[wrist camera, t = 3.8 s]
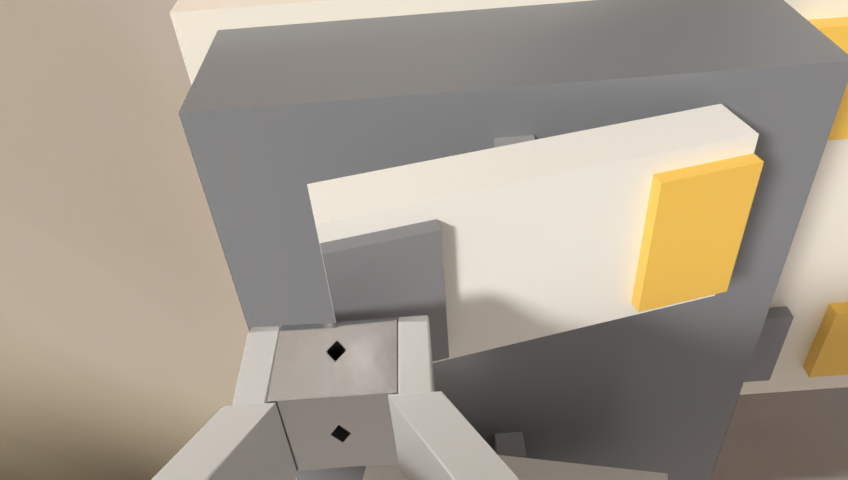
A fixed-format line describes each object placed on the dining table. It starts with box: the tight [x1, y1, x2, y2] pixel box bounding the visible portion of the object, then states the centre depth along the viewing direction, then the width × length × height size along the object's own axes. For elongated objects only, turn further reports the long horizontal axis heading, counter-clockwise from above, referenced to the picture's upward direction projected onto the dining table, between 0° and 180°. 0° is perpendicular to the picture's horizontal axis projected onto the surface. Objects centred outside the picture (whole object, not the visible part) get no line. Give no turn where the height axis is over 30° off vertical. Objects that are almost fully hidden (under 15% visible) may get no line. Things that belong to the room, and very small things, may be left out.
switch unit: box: [170, 0, 848, 480], centre depth 20 cm, size 22×16×6 cm
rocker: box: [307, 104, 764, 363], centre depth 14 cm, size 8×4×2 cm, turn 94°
